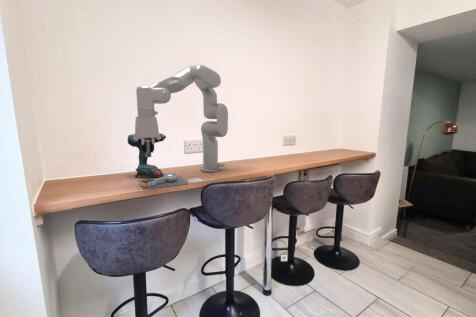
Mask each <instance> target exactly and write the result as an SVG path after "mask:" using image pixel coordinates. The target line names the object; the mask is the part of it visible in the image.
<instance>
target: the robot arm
mask: <svg viewBox="0 0 476 317" xmlns="http://www.w3.org/2000/svg"><path fill="white" fill-rule="evenodd" d="M221 82H222V79H221V76H220V74H219V73H217V71H215V70H213V69H212V68H209V67H207V66H206V65H203V64H195V65H189V66H186V67H185V68H182V69H181V70H180V71H178V72H177V73H175V74H173V75H172V76H169V77H167V78H165V79H163V80H161V81H159V82H156V83H155V84H152V85H151V86H147V85H146V86H144V85H143V86H142V85H141V86H140V85H139V86H137V87H136V90H135V92H136V106H137V110H136V111H137V116H135V121H134V123H135V124H134V125H135V126H134V130H135V131H134V134H135V135H134V137H133V139H134V140H136V141H138V142H139V143H141V144H142V151H143V153H146V146H145V143H144V138H151V154H152V153H154V152H155V144H156V143H157V140H159V139H161V136H160V134H161V133H160V131H159V126H158V120H157V117H156V115H158V113H159V112H158V111H156V110H155V105H157V104H158V105H163V104H168V103H169V102H170V101H171V98H172V95H171V94H175V93H179V92H181V91H183V90H185V89H186V88H188V87H189V86H190V85H192V84H193V83H195V85H196V87H197V88H198V89H199V90H200V92H201V94H202V97H203V99H202V100H203V108H202V109H203V117H204V118H205V119H208V120H211V121H204V122H203V123H202V124H201V127H200V132H201V136H202V167H201V168H200V171H201V172H204V173H217V172H219V171H220V172H221V168H223V167H225V166H226V165H225V163H219V160H218V159H219V153H218V151H219V142H218V140H217V138H224V137H225V136H226V135H227V134H228V130H229V127H228V126H229V112H228V107H227V106H226V104H224V103H220V102H219V103H218V94H217V92H216V90H215V89H216V88H218V87H219V86H221V84H222V83H221ZM213 120H214V121H213ZM215 120H216V121H215ZM137 137H138V138H141V140H140V139H138V138H137ZM156 137H157V138H156ZM154 138H155V139H154Z"/></svg>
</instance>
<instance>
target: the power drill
mask: <svg viewBox="0 0 476 317" xmlns="http://www.w3.org/2000/svg"><path fill="white" fill-rule="evenodd" d="M159 134H160V136H161V139H159V140H157V142H156V143H157V144H158V143H160V142H163V141H165V140H166V138H167V136H166V134H164V133H159ZM134 135H135V133H133V134H128V135H127V144H128V145H129V146H131V147H132V148H133V147H134V148H137V149H138V166H137V168H135V171H136V174H135V179H136V178H138V179H139V178H141V179H152V178H161V177H162V176H163V174H164V173H163V171H162V170H161V169H160V168H158V166H156V165H154V164H148V159H149V157H145V153H143V151H142V144H141V143H139V142H138V141H136V140H134V139H133V137H134ZM137 138H138V137H137ZM156 138H157V137H156ZM138 139H140V140H141V138H138ZM154 139H155V138H154ZM144 140H151V138H144ZM144 143H145V141H144Z"/></svg>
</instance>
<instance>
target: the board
mask: <svg viewBox="0 0 476 317" xmlns="http://www.w3.org/2000/svg"><path fill="white" fill-rule="evenodd" d="M158 178H159V177H157V178H151V179H158ZM160 178H164V176H163V177H162V176H160ZM147 179H148V178H141V179H137V181H138V183H139V181H141V180H147ZM189 183H190V182H189ZM189 183H188V181H187V180H185V179H184V178H182V177H181V176H180V175H177V181H175V182H164V183H159V184H157V185H155V186H150V187H143V186H141V185H140V187H141V188H142V190H143V191H144V190H145V191H146V190H152V189H160V188H169V187H177V186H183V185H184V186H185V185H189Z"/></svg>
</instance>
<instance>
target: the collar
mask: <svg viewBox="0 0 476 317" xmlns="http://www.w3.org/2000/svg"><path fill="white" fill-rule="evenodd" d="M162 176H163V177H164V178H161V177H157V178H158V179H152V178H146V179H147V180H142V179H140V180H141V181H139V182H138V184H139V186H140V187H141V186H143V187H150V186H155V185H157V184H159V183H164V182H175V181H177V176H178V173H177V172H165V173H163V175H162Z"/></svg>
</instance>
